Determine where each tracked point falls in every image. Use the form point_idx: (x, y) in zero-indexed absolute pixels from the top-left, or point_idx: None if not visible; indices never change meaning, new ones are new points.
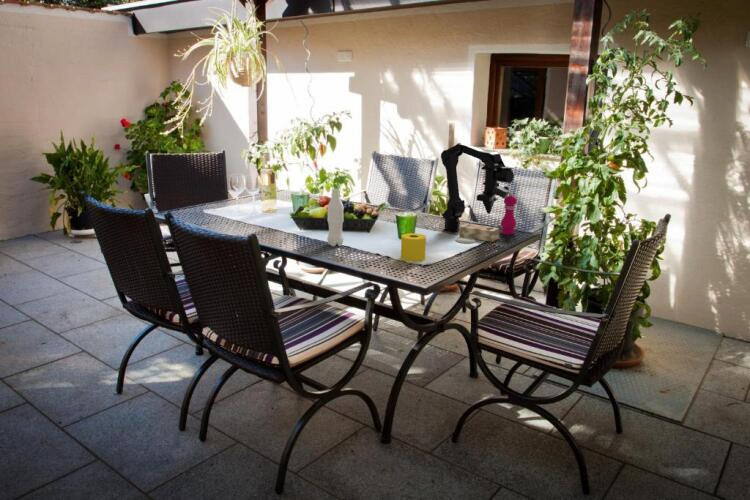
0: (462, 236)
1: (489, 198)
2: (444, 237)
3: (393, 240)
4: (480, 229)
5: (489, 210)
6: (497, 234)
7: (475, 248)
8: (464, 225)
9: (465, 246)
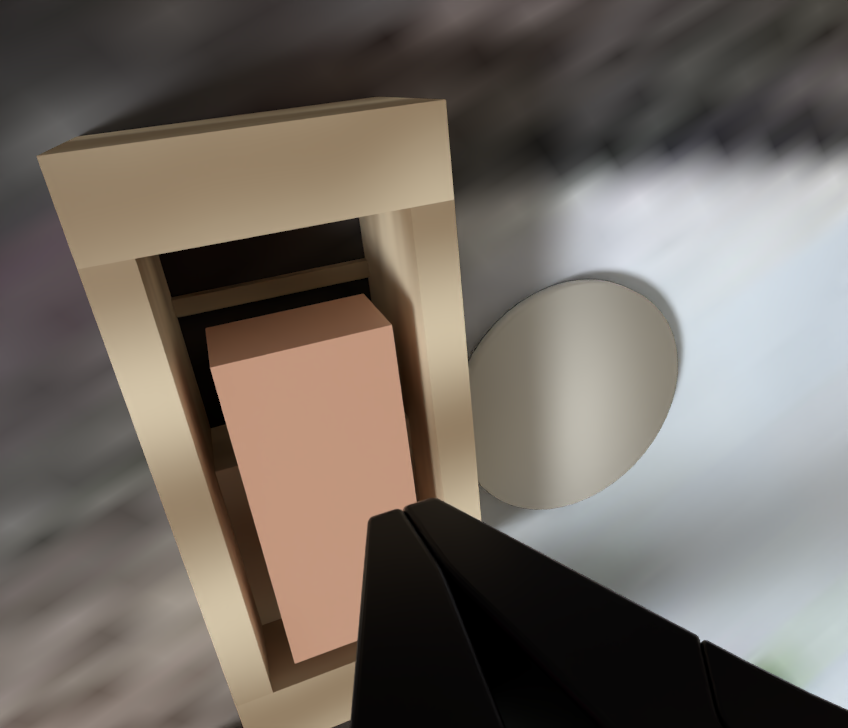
0: None
1: None
2: None
3: None
4: (466, 378)
5: (541, 573)
6: (151, 131)
7: (808, 110)
8: None
9: (774, 251)
